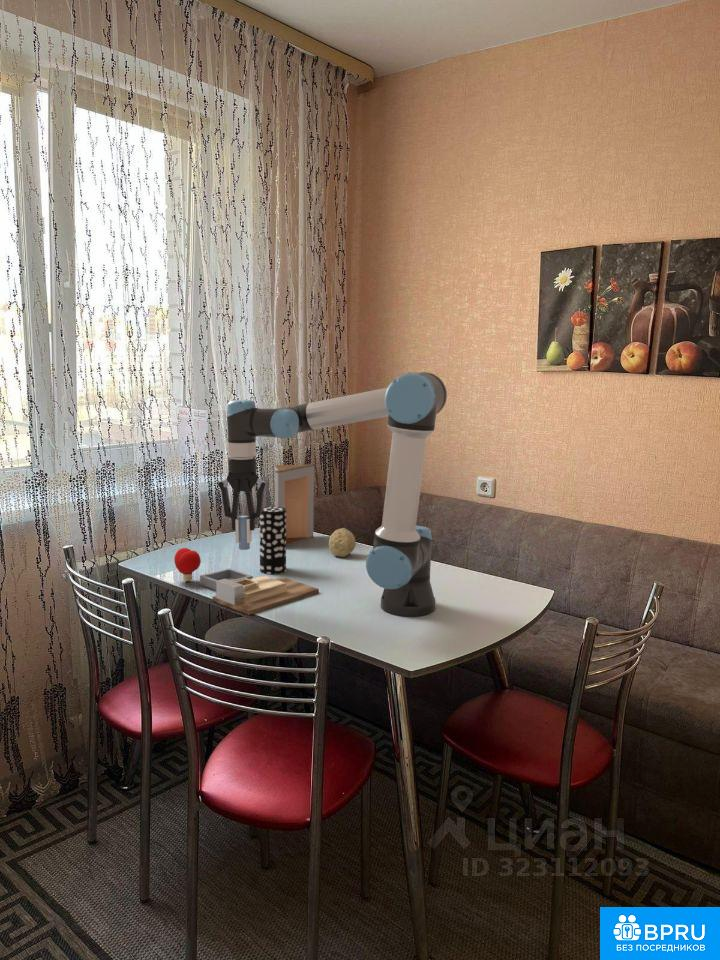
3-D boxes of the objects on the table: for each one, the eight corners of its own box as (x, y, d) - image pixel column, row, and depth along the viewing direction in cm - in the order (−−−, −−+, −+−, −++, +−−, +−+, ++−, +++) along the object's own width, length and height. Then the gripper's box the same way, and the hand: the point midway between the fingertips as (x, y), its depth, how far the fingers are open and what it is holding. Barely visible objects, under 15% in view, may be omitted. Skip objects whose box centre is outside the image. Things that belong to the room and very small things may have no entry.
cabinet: (278, 548, 259) (278, 471, 254) (257, 544, 264) (257, 468, 259) (313, 537, 276) (313, 464, 271) (293, 533, 281) (293, 461, 276)
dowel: (250, 547, 204) (250, 515, 202) (248, 550, 201) (247, 518, 199) (240, 546, 204) (239, 515, 202) (237, 549, 201) (237, 517, 200)
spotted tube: (281, 575, 228) (281, 512, 225) (256, 573, 230) (255, 511, 226) (289, 567, 236) (289, 507, 233) (264, 565, 238) (264, 505, 234)
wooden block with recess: (286, 591, 209) (286, 578, 208) (247, 602, 199) (247, 588, 198) (263, 583, 216) (263, 570, 215) (225, 594, 206) (225, 580, 205)
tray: (252, 585, 217) (252, 575, 217) (222, 594, 209) (222, 584, 209) (229, 577, 225) (229, 568, 224) (200, 585, 217) (199, 575, 216)
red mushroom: (206, 582, 219) (206, 550, 218) (186, 587, 214) (186, 555, 213) (189, 576, 226) (188, 544, 224) (169, 580, 221) (168, 548, 219)
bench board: (318, 592, 212) (318, 588, 212) (248, 615, 193) (248, 610, 193) (282, 580, 223) (282, 576, 223) (212, 600, 204) (212, 596, 204)
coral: (362, 533, 255) (353, 527, 246) (355, 561, 253) (345, 557, 244) (337, 528, 258) (327, 522, 249) (330, 556, 256) (320, 551, 247)
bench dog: (243, 602, 199) (243, 585, 198) (234, 605, 197) (234, 587, 196) (225, 595, 204) (225, 578, 204) (216, 598, 202) (216, 580, 201)
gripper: (272, 455, 201) (273, 538, 205) (217, 455, 201) (219, 537, 205) (267, 459, 193) (269, 545, 197) (210, 458, 194) (212, 544, 198)
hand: (243, 541), depth 201 cm, fingers closed on dowel, 2 cm apart
